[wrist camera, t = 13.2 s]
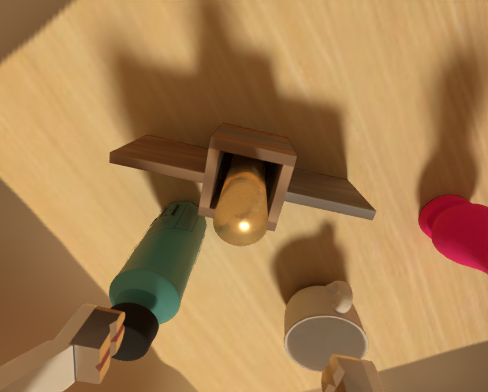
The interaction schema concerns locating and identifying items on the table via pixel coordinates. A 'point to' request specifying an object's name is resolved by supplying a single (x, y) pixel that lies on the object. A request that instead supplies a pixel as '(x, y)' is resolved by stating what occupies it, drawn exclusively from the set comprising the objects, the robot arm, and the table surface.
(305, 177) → the brown winged open box
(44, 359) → the robot arm
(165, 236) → the beverage bottle
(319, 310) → the teacup
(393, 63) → the table surface
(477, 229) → the pepper mill
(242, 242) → the brass pin
